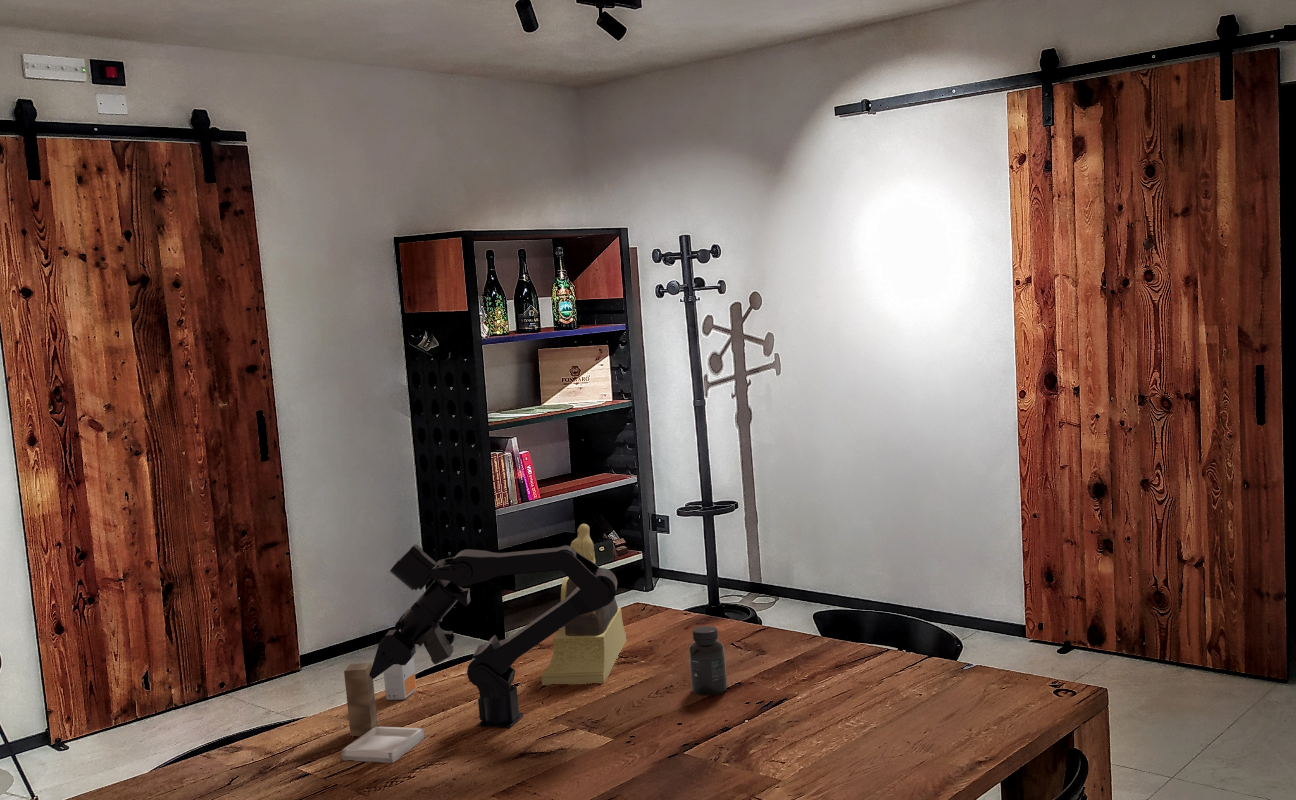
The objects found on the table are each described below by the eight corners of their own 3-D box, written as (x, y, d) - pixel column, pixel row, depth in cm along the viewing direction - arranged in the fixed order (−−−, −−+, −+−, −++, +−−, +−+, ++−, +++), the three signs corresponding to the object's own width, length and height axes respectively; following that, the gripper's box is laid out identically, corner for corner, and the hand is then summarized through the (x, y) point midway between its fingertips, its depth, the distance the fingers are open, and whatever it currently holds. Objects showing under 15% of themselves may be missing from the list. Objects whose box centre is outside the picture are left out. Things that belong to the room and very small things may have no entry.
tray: (424, 738, 198) (423, 728, 197) (392, 762, 187) (391, 752, 187) (376, 735, 201) (375, 726, 201) (342, 760, 190) (341, 750, 190)
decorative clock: (571, 644, 250) (560, 514, 247) (626, 641, 248) (615, 511, 246) (542, 685, 222) (529, 540, 220) (604, 684, 220) (591, 537, 218)
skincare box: (405, 700, 219) (399, 642, 218) (385, 700, 220) (379, 642, 219) (417, 689, 225) (412, 633, 224) (398, 689, 226) (392, 633, 225)
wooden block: (377, 727, 205) (371, 662, 204) (372, 735, 201) (365, 669, 200) (356, 728, 205) (350, 664, 204) (350, 737, 201) (344, 670, 200)
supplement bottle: (685, 689, 212) (680, 629, 211) (714, 681, 216) (709, 622, 215) (704, 698, 206) (699, 636, 205) (734, 690, 210) (729, 629, 209)
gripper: (455, 650, 192) (399, 715, 193) (473, 620, 211) (421, 680, 212) (407, 609, 192) (351, 674, 193) (429, 583, 211) (378, 643, 211)
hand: (377, 669), depth 202 cm, fingers open, 9 cm apart
